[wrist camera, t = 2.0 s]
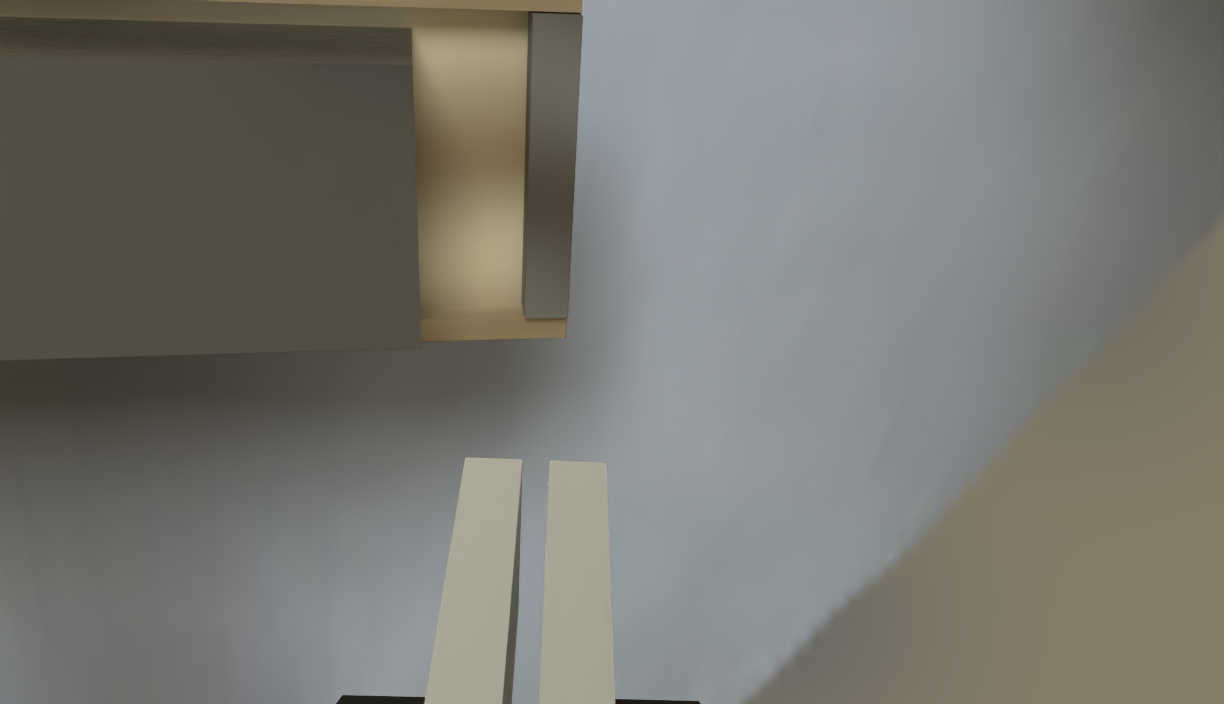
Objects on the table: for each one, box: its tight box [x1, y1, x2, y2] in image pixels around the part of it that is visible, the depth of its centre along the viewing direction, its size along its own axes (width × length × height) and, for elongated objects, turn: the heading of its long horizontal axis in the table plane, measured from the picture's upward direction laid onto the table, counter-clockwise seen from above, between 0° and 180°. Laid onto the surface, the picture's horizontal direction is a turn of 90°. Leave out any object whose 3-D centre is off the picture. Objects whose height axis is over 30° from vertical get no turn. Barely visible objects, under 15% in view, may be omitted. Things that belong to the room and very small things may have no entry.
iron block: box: [0, 17, 422, 361], centre depth 24 cm, size 7×10×4 cm
